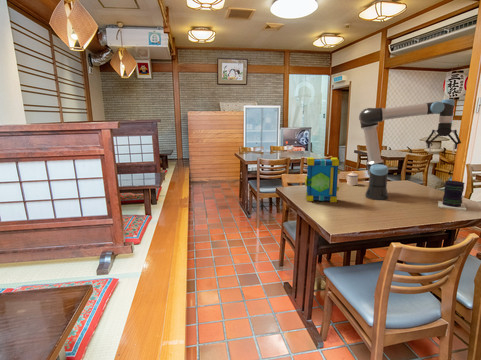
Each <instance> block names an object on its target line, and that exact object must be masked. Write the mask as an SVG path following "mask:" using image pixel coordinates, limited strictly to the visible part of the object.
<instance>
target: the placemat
mask: <svg viewBox="0 0 481 360" xmlns="http://www.w3.org/2000/svg"><path fill="white" fill-rule="evenodd" d="M442 203H443V200H442V201H441V200H438V201H437V206H438V208H440V209H446V210H447V209H448V210H455V211H462V212H463V211H464V212H466V211H467V208H466V204H465V203H463V202H462V203H461V207H450V206H446V205H443V204H442Z"/></svg>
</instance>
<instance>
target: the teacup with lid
mask: <svg viewBox="0 0 481 360" xmlns="http://www.w3.org/2000/svg"><path fill="white" fill-rule="evenodd" d="M345 179H346V181H347V182H346V185H347V184H348V185H347V186H350V185H357V186H358V184H359V183H358V182H359V174H357V173H356V172H355V171H351V172H350V173H348V174H347V175H346V176H345Z"/></svg>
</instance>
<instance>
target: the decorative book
mask: <svg viewBox="0 0 481 360" xmlns="http://www.w3.org/2000/svg"><path fill="white" fill-rule="evenodd" d="M306 161H307V162H306V164H307V165H306V166H307V167H306V168H307V173H306V175H305V177H304V186H305V187H306V192H305V198H306V202H307V201H313V202H314V201H319V202H325V201H329V203H330V202H337V203H338V201H337V199H338V196H337V192H339V190H340V187H339V186H338V176H339V174H341V170H339V166H340V159H338V157H330V159H328V158H327V159H326V158H318V159H316V158H315V157H309V156H308V157H307V160H306Z"/></svg>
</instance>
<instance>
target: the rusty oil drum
mask: <svg viewBox="0 0 481 360" xmlns="http://www.w3.org/2000/svg"><path fill="white" fill-rule="evenodd" d="M464 190H465V182H463V181H459V180H445V184H444V192H443V193H444V194H443V197H442V201H443V203H442V204H443V205H446V206H450V207H461V203H462V204H463V193H464Z"/></svg>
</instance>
